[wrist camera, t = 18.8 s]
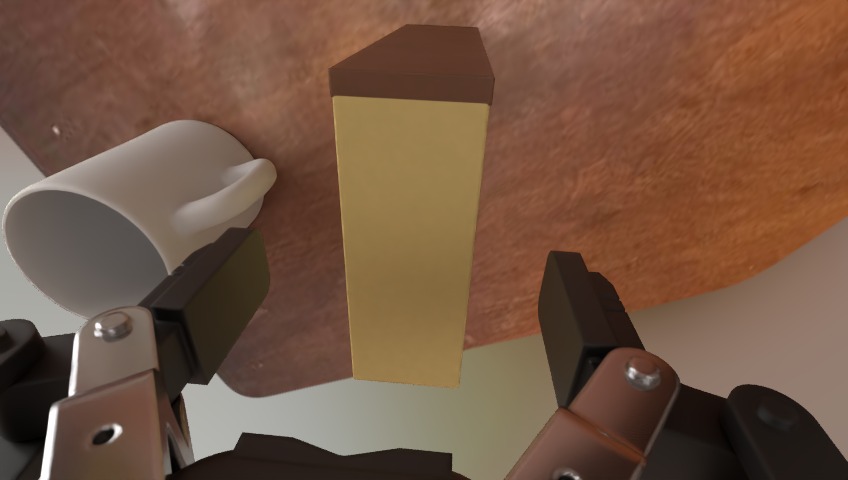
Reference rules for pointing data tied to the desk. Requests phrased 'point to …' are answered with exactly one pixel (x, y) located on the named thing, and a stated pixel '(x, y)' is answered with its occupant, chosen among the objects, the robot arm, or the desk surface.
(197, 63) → the desk surface
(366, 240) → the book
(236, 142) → the mug
